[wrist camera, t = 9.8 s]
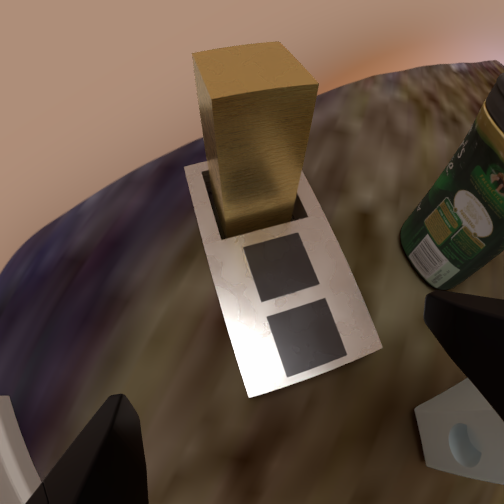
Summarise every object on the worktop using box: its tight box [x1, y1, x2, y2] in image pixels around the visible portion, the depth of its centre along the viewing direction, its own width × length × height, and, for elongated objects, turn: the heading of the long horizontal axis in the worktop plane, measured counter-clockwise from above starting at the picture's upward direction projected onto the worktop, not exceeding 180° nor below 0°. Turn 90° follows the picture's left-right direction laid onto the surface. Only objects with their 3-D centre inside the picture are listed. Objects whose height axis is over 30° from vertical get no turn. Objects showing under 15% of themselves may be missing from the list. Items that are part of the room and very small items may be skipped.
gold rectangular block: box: [192, 42, 319, 239], centre depth 19 cm, size 5×5×14 cm
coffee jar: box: [400, 73, 504, 290], centre depth 16 cm, size 10×8×19 cm
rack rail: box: [184, 161, 383, 398], centre depth 22 cm, size 18×9×3 cm, turn 17°
